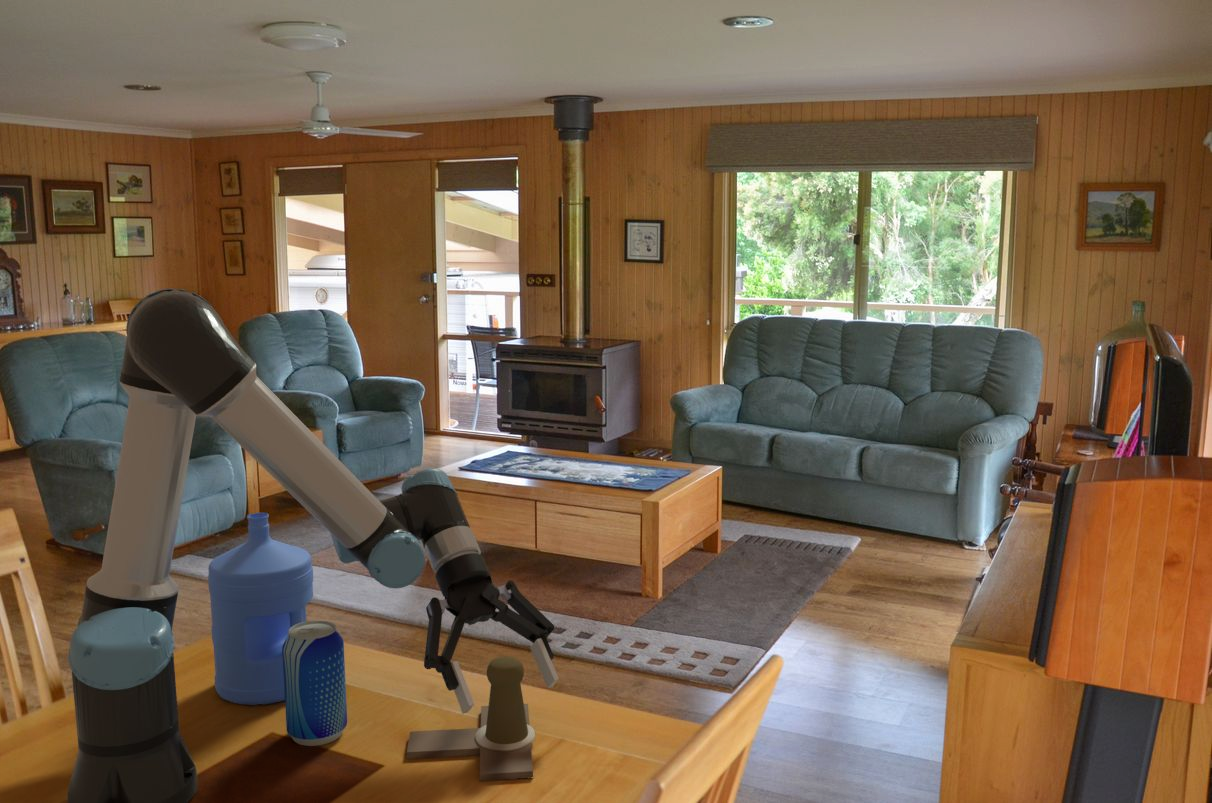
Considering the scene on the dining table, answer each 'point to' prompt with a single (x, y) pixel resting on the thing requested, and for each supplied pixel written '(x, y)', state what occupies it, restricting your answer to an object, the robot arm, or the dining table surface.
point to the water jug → (256, 613)
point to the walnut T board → (477, 749)
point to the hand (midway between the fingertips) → (512, 696)
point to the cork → (506, 702)
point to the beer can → (314, 683)
